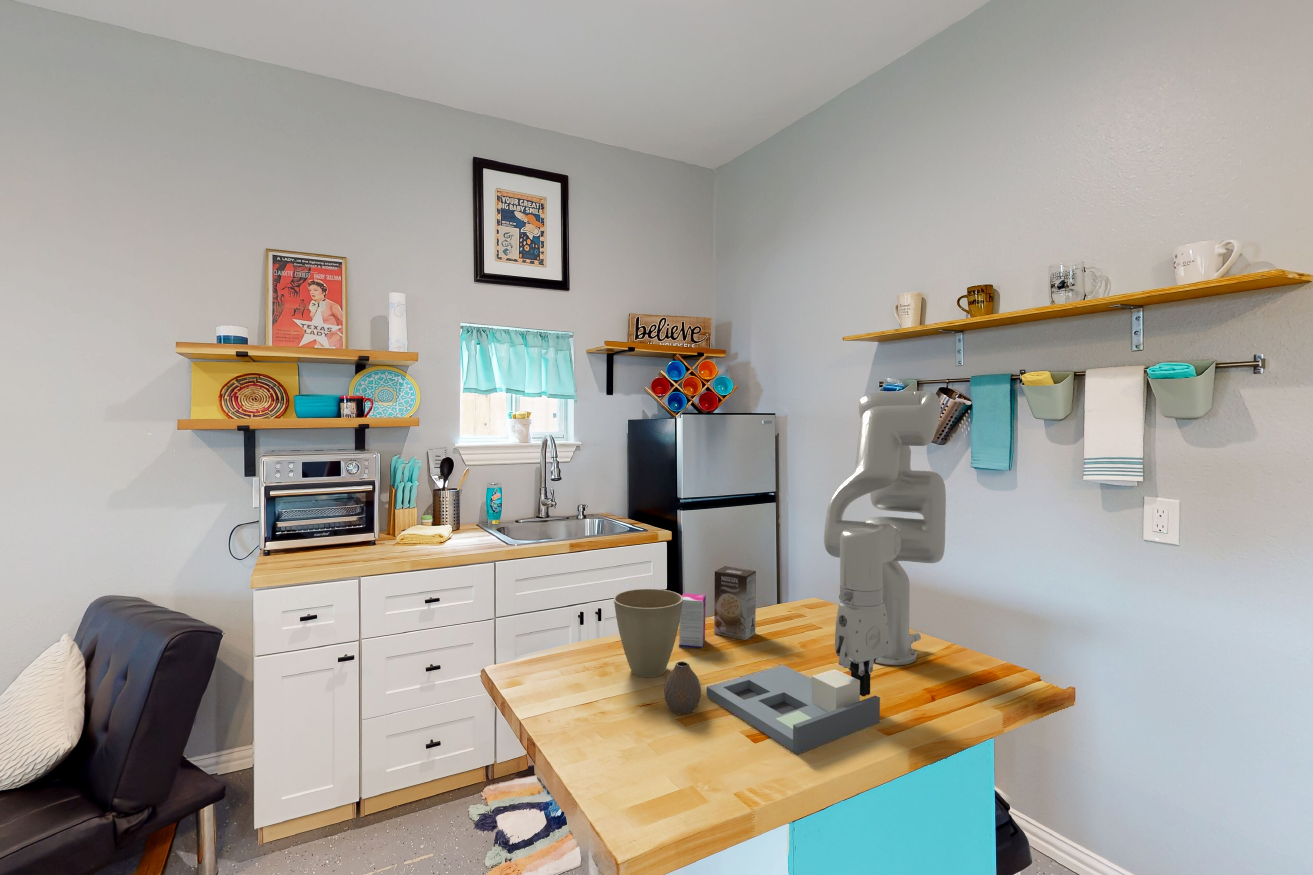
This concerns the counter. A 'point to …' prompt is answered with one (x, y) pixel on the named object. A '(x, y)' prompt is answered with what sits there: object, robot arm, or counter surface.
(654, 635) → the plant pot
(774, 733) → the board
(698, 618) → the supplement box
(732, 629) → the coffee box
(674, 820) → the counter surface
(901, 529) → the robot arm
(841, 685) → the cream block
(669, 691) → the vase
